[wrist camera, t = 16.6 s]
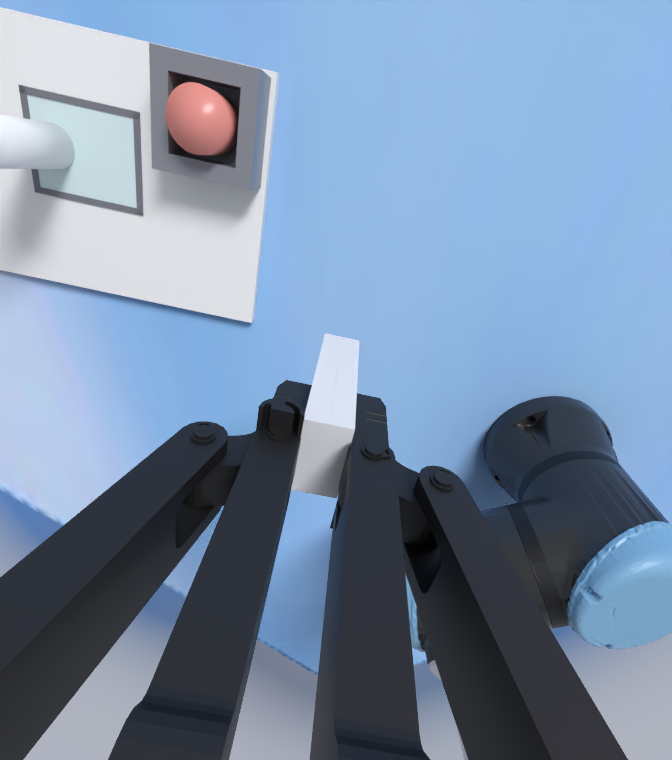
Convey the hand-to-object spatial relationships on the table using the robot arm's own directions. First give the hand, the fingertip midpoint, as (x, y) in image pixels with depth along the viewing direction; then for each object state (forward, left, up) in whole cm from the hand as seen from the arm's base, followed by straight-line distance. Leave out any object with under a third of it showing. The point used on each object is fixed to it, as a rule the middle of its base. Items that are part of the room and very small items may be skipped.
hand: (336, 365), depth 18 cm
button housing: (+8, +15, -28) cm, 33 cm away
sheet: (+1, +25, -29) cm, 38 cm away
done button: (+8, +15, -27) cm, 32 cm away
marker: (+3, +31, -28) cm, 42 cm away
